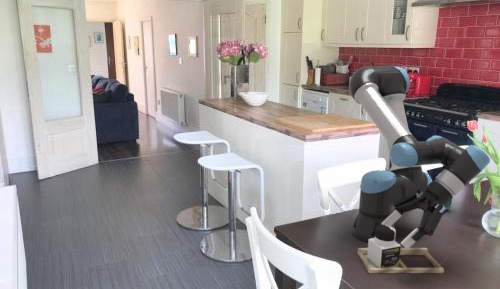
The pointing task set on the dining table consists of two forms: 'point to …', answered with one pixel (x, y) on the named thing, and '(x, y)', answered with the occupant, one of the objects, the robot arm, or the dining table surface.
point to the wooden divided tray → (396, 269)
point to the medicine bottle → (384, 247)
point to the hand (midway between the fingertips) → (393, 235)
